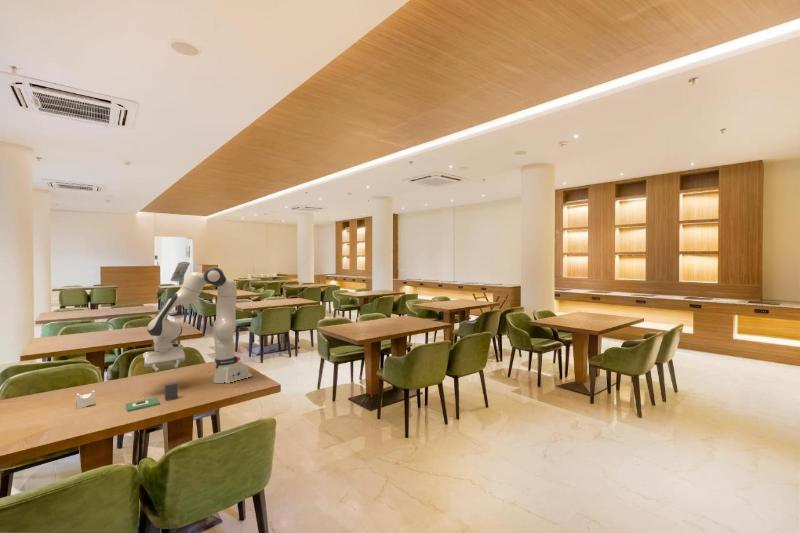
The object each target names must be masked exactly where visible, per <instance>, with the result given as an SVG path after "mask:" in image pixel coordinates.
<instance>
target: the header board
mask: <svg viewBox="0 0 800 533" xmlns="http://www.w3.org/2000/svg"><path fill="white" fill-rule="evenodd" d="M159 405H161V402H160V400H159V398H158V396H154V397H152V398H150V397H149V398H146V399H145V396H142V397H139V398H135V401H132V402H127V403H125V409H126V411H127V413H129V412H133V411H137V410H142V409H145V408H151V407H156V406H159Z"/></svg>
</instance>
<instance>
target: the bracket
mask: <svg viewBox="0 0 800 533" xmlns="http://www.w3.org/2000/svg"><path fill="white" fill-rule="evenodd" d="M95 394H96V393H95V390H92V391H91V393H85V394H82V395H81V394H80V393H76V407H77V409H78V408H80V409H83V408H82V407H85V408H87V406H91V405H96V398H95V397H96V395H95Z"/></svg>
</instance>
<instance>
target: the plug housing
mask: <svg viewBox="0 0 800 533" xmlns="http://www.w3.org/2000/svg"><path fill="white" fill-rule="evenodd" d="M163 386H164V387H163V388H164V389H163V390H164V391H163V392H164V400H165V401H171V400H175V399H178V398H179V397H178V383H177V382H175V381H174V382H170V383H165V384H164V385H163Z"/></svg>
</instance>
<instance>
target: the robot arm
mask: <svg viewBox="0 0 800 533" xmlns="http://www.w3.org/2000/svg"><path fill="white" fill-rule="evenodd" d="M206 285H212V286H215V287H217V296H216V297H217V298H216V308H215V310H216V311H215V312H216V315H215V316H216V319H215V320H214V322H213V325H212V328H213V339H214V354H215V356H214V357H215V358H214V369H215V370H214V375H213V376H214V378H213V379H212V380H213V381H212V382H213V383H215V384H231V383H230V382H233V383H235V382H234V381H236V382H238V381H237V380H240V379H244V378H247V379H249V378H248V377H251V376H252V377H253V374H252V373H251V372H249V369H248V367H247V366H246V365H245V364H243V363H242V362H240V361H241V357H240V356H236V354H235V352H236V350H235V341H234V334H235V332H236V328H237V327H236V324H237V323H236V322H237V320H236V317H237V316H236V307H237V294H238V292H237V291H238V290H237V288H238V287H237V282H236V281H235V280H234V279H231V278H227V277H226V276H225V273H224V271H223V270H222V269H221V268H220V267H218V266H211V267H209V268H207V269H206V270H205V271H204V272H199V271H191V272H190V273H188V275H187V276H186V278H185V279H184V281H183V283H182V285H181V287H180V288H179V289H178V290H177V291H176V292H175V293H172V294H170V296H168V298H167V299H166V300H165V302H164V303H163V305H162V306H161V307H160V309H159V310H158V311H157V313H156V314H155V316H154V317H153V318H152V319H151V320H150V321H149V322H148V324H147V327H146V330H147V332H148V334H149V335H150V336H152V342H153V344H154V345H153V349H154V350H151V351H150V350H149V351H146V352H144V353H143V354H142V358H143V359H144V361H143V363H144V366H143V367H145V368H150V367H152V369H153V370H154V371H155V373H156V372H157V373H159V371H160V370H159V367H158V366H163V365H167V364H174V363H175V364H174V369H175V370H176V369H178V368H179V363H180V362H185V360H186V354H185V351H184V349H183V348H182V345H181V343H172V341H174V340H176V339H177V338H179V337H180V336H181V335H182V334H183V326H182V324H181V323H180V322H176V321H172V320H167V317H168V316H169V314H170V313H171V312H172V310H173V309H174V308H175V307H179V306H182V305H189V304H193V303H194V302H196V301H197V300H198V299H199V296H200V295H201V293H202V291H203V290H204V288H205V286H206ZM252 377H251V378H252ZM244 380H245V379H244ZM240 381H241V380H240ZM224 382H225V383H224Z"/></svg>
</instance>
